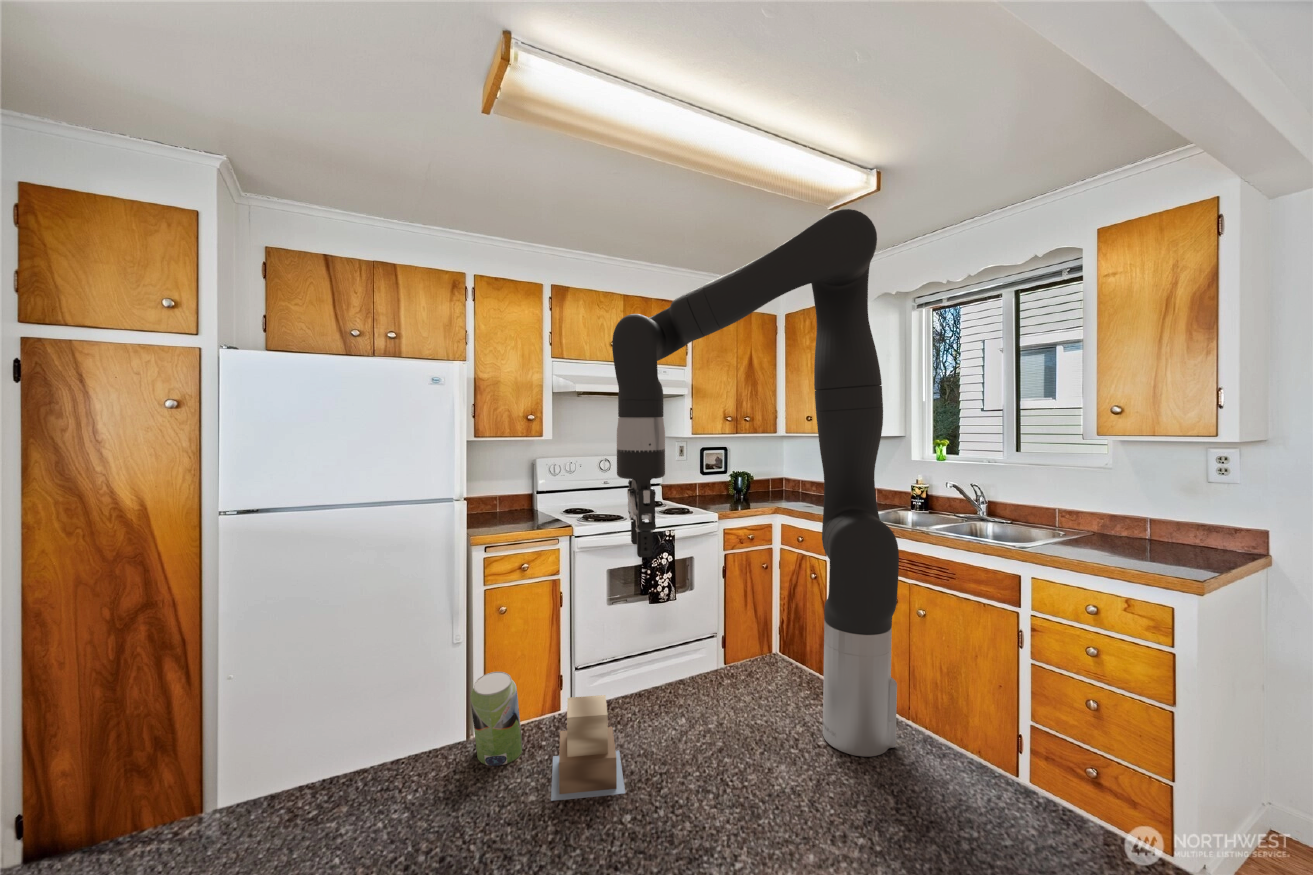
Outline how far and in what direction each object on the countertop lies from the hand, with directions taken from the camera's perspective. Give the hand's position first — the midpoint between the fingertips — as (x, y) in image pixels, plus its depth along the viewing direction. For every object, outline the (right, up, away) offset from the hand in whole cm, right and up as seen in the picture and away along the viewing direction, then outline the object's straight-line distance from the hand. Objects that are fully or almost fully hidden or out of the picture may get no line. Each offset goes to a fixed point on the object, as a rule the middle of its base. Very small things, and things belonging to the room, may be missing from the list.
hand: (641, 549), depth 91 cm
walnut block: (-7, -26, -16) cm, 31 cm away
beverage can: (-19, -27, -12) cm, 35 cm away
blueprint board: (-6, -27, -16) cm, 32 cm away
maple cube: (-7, -22, -16) cm, 28 cm away
